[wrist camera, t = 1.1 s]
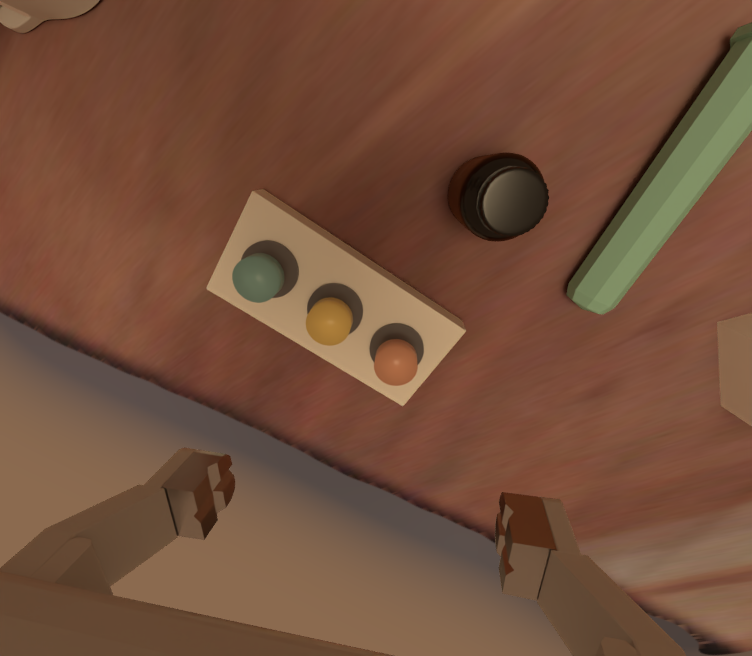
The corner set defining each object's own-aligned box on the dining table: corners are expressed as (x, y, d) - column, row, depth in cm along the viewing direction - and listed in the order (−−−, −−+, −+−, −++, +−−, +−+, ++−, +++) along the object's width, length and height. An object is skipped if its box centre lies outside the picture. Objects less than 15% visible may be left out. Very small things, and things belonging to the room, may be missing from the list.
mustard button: (302, 322, 39) (297, 330, 37) (323, 289, 37) (319, 295, 35) (338, 344, 39) (335, 353, 37) (360, 312, 38) (358, 320, 36)
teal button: (233, 280, 37) (224, 286, 35) (252, 244, 36) (243, 248, 34) (272, 304, 38) (265, 311, 36) (292, 269, 36) (286, 274, 35)
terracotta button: (367, 362, 40) (365, 371, 38) (390, 331, 38) (389, 339, 36) (401, 382, 40) (401, 393, 39) (425, 353, 39) (426, 362, 37)
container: (612, 329, 36) (847, 33, 26) (555, 299, 37) (755, 8, 27) (605, 317, 41) (798, 66, 31) (555, 291, 43) (723, 44, 33)
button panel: (218, 281, 43) (203, 290, 40) (263, 188, 39) (250, 190, 35) (403, 392, 47) (402, 409, 44) (462, 320, 43) (467, 333, 40)
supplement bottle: (456, 236, 39) (475, 262, 28) (439, 169, 37) (454, 169, 26) (522, 215, 38) (570, 234, 27) (510, 145, 36) (556, 134, 25)
